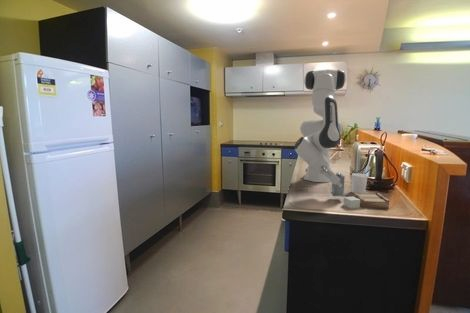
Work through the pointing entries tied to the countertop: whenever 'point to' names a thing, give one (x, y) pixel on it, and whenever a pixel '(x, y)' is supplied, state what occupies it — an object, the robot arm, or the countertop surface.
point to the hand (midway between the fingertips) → (339, 184)
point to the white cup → (358, 183)
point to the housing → (335, 188)
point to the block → (351, 202)
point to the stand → (372, 200)
